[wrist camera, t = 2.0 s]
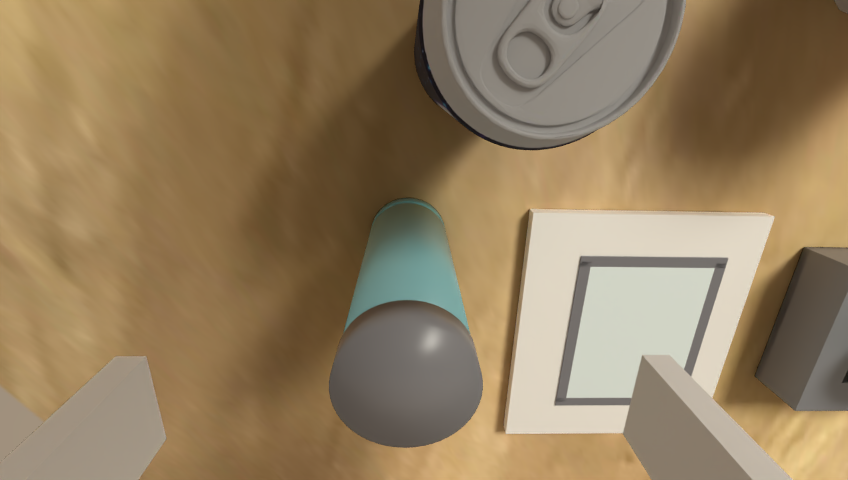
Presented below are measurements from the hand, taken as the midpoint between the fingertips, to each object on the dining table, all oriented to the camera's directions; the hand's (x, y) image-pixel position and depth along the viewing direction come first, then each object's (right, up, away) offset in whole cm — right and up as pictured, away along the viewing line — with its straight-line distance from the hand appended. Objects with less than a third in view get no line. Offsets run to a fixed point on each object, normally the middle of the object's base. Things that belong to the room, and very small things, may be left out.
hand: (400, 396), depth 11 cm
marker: (0, +5, +11) cm, 12 cm away
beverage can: (+3, +13, +8) cm, 16 cm away
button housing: (+27, 0, +14) cm, 30 cm away
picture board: (+13, -1, +14) cm, 19 cm away
